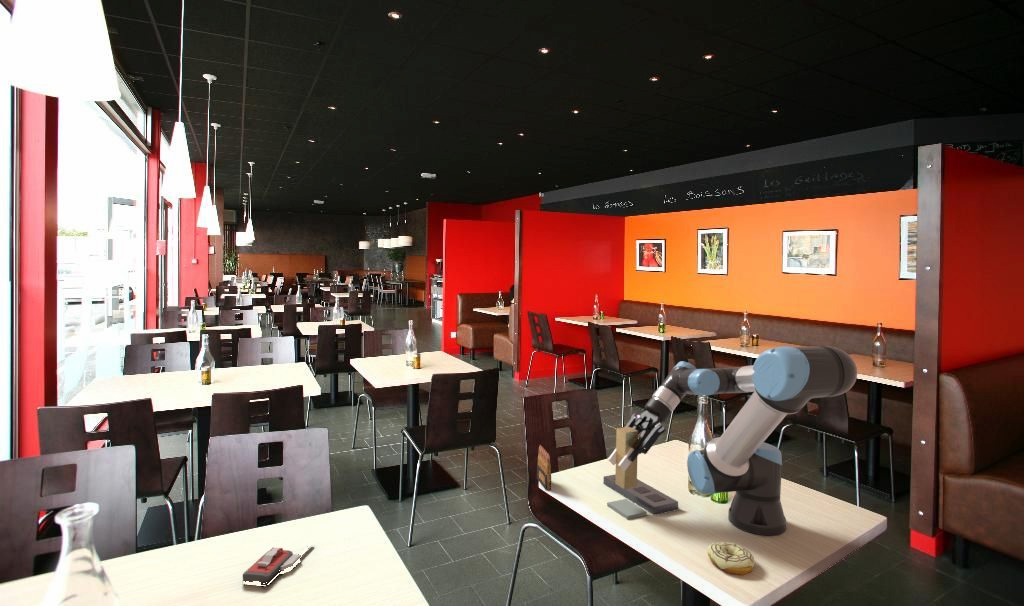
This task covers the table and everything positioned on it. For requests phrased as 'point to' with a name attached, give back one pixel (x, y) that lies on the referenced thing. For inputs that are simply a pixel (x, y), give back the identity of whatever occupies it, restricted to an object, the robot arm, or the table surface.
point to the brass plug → (624, 443)
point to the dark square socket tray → (644, 496)
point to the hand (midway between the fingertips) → (616, 465)
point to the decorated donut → (731, 557)
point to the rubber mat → (626, 509)
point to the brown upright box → (544, 469)
